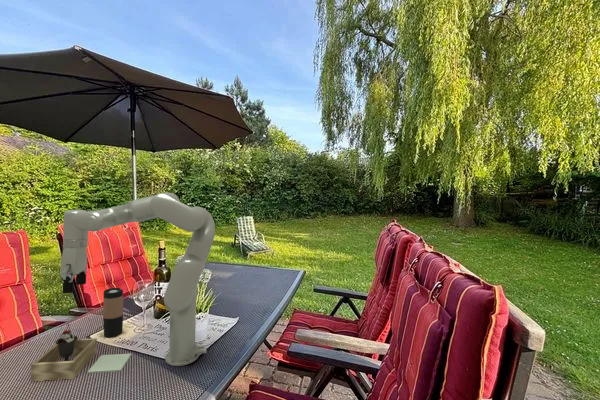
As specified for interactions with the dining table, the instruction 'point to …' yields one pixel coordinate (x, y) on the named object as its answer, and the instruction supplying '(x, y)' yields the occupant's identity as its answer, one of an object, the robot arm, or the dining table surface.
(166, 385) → the dining table surface
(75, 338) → the sundae
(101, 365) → the mat
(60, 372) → the crate
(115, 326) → the travel mug
